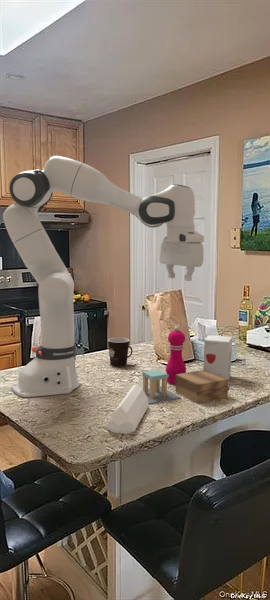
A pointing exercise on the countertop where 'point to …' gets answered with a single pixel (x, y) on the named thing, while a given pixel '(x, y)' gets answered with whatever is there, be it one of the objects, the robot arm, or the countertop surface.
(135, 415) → the crystal
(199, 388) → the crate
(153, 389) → the stool
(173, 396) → the mat
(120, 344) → the coffee mug
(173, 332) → the pepper mill
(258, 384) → the countertop surface
